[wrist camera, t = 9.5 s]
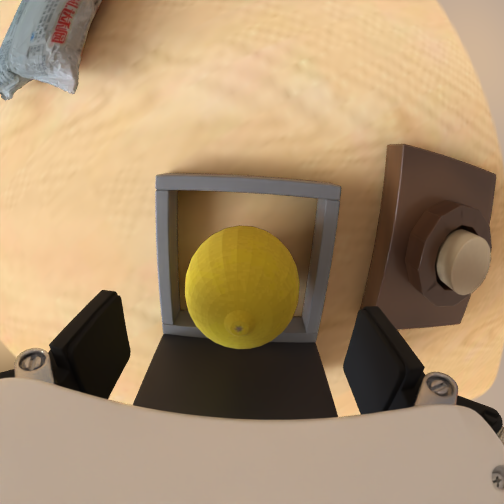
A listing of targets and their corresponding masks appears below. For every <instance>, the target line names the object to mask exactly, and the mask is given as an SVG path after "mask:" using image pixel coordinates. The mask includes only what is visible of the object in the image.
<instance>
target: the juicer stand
mask: <svg viewBox="0 0 504 504" xmlns="http://www.w3.org/2000/svg"><path fill="white" fill-rule="evenodd" d="M156 189H157V190H156V244H157V265H158V280H159V293H160V304H161V315H162V323H163V324H162V326H163V333H164V334H163V336H162V338H161V341H160V343H159V345H158V347H157V350H156V352H155V354H154V356H153V359H152V361H151V363H150V366H149V368H148V370H147V372H146V375H145V377H144V379H143V382H142V384H141V387H140V389H139V391H138V394H137V396H136V399H135V401H134V403H133V405H134V406H139V407H144V408H149V409H155V410H161V411H167V412H174V413H181V414H189V415H197V416H206V417H217V418H231V419H252V420H298V419H319V418H333V417H338V415H337V411H336V408H335V405H334V401H333V398H332V395H331V391H330V388H329V385H328V381H327V378H326V375H325V371H324V368H323V365H322V362H321V359H320V355H319V352H318V349H317V346H316V343H315V342H316V339H317V335H318V330H319V325H320V321H321V316H322V311H323V306H324V301H325V296H326V290H327V285H328V279H329V274H330V268H331V262H332V255H333V249H334V242H335V236H336V229H337V221H338V214H339V206H340V201H339V200H340V196H341V186H338V185H335V184H332V183H327V182H318V181H308V180H298V179H287V178H275V177H261V176H245V175H226V174H195V173H165V174H160V175H156ZM178 190H198V191H224V192H243V193H259V194H273V195H286V196H298V197H309V198H318V202H317V211H316V220H315V228H314V236H313V244H312V252H311V259H310V266H309V273H308V280H307V286H306V293H305V299H304V305H303V311H302V317H293V318H292V320H291V321H290V323H289V324H288V326H287V327H286V328H285V330H284V331H283V332H282V333H281V334H280V335H278V336H277V337H276V338H275V339H273V340H272V341H270V342H268V343H266V344H264V345H262V346H259V347H255V348H251V349H235V348H229V347H225V346H222V345H220V344H217V343H215V342H214V341H212V340H211V339H209V338H208V337H206V336H205V335H204V334H203V333H202V332H201V331H200V330H199V329H198V327H197V326H196V325H195V323H194V321H193V320H192V318H191V316H190V314H189V311H185V310H180V298H179V276H178V236H177V203H178Z"/></svg>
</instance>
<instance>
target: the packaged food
mask: <svg viewBox="0 0 504 504" xmlns="http://www.w3.org/2000/svg"><path fill="white" fill-rule="evenodd" d="M101 1H102V0H22V1H21V3H20V5H19V7H18V10H17V12H16V14H15V16H14V19H13V21H12V23H11V25H10V27H9V29H8V32H7V34H6V36H5V38H4V40H3V43H2V45H1V48H0V94H1V95H2V96H1V98H3V99H4V100H5V101H6V100H7V99H8V100H9V99H11V98H12V96H13V94H14V93H15V92H16V91H17V90H18V89H20V88H21V87H22V86H24V85H25V84H27V83H28V82H29V81H31V80H33V79H36V80H39V81H41V82H45V83H49V84H51V85H54V86H56V87H59V88H60V89H62V90H64V91H68V92H69V93H72V94H74V93H75V92H76V89H77V86H78V79H79V78H78V75H79V65H80V62H81V56H82V52H83V49H84V45H85V41H86V37H87V33H88V30H89V27H90V24H91V22H92V20H93V18H94V16H95V14H96V12H97V10H98V8H99V6H100V4H101Z"/></svg>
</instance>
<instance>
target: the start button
mask: <svg viewBox="0 0 504 504" xmlns="http://www.w3.org/2000/svg"><path fill="white" fill-rule="evenodd" d="M490 261H491V252H490V247H489V245H488V243H487V241H486V240H485V239H484V238H482V237H480V236H478V235H476V234H473V233H471V232H469V231H467V230H464V229H460V230H456V231H454V232H452V233H451V234H449V235H448V236H447V237H446V239H445V240H444V241H443V243H442V245H441V247H440V249H439V251H438V255H437V259H436V270H437V274H438V277H439V279H440V280H441V281H442V282H443V283H445V284H446V285H447V286H448V287H450V288H451V289H452V290H453V291H455V292H456V293H457V294H460V295H467V294H470V293H472V292H474V291H475V290H476V289H477V288H478V287H479V286H480V285H481V284H482V282H483V281H484V279H485V277H486V275H487V273H488V270H489V266H490Z"/></svg>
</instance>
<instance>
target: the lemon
mask: <svg viewBox="0 0 504 504" xmlns="http://www.w3.org/2000/svg"><path fill="white" fill-rule="evenodd" d="M299 285H300V284H299V277H298V272H297V267H296V264H295V262H294V260H293V258H292V256H291V254H290V252H289V250H288V249H287V248H286V247H285V246H284V245H283V244H282V242H281V241H280V240H279V239H278V238H276V237H275V236H273V235H272V234H270V233H268V232H267V231H265V230H262V229H259V228H256V227H252V226H235V227H229V228H225V229H223V230H221V231H219V232H217V233H215V234H213V235H212V236H210V237H209V238H208V239H207V240H206V241H204V242H203V243H202V244H201V245H200V247H199V248H198V250H197V251H196V252H195V254H194V255H193V257H192V259H191V261H190V264H189V267H188V270H187V273H186V280H185V298H186V303H187V307H188V311H189V314H190V316H191V318H192V320H193V321H194V323H195V325H196V326H197V327H198V329H199V330H200V331H201V332H202V333H203V334H204V335H205V336H206V337H208V338H209V339H211V340H212V341H214V342H215V343H217V344H220V345H222V346H225V347H229V348H235V349H251V348H255V347H259V346H262V345H264V344H266V343H268V342H270V341H272V340H273V339H275V338H276V337H277V336H278V335H280V334H281V333H282V332H283V331H284V330H285V328H286V327H287V326H288V324H289V323H290V321H291V320H292V318H293V315H294V312H295V310H296V307H297V304H298V297H299Z"/></svg>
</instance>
